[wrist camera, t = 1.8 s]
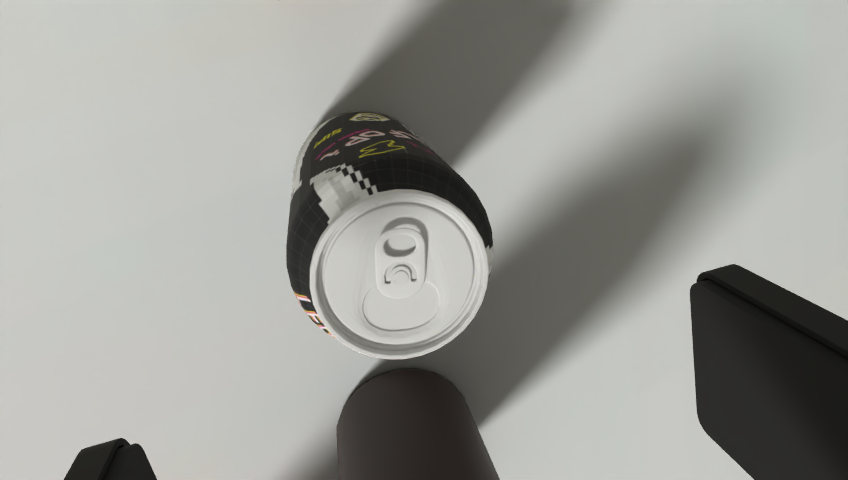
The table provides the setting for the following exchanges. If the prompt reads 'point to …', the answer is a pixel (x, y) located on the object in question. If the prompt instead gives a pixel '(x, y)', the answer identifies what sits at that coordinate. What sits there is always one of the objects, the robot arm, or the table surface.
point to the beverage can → (384, 238)
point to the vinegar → (410, 431)
